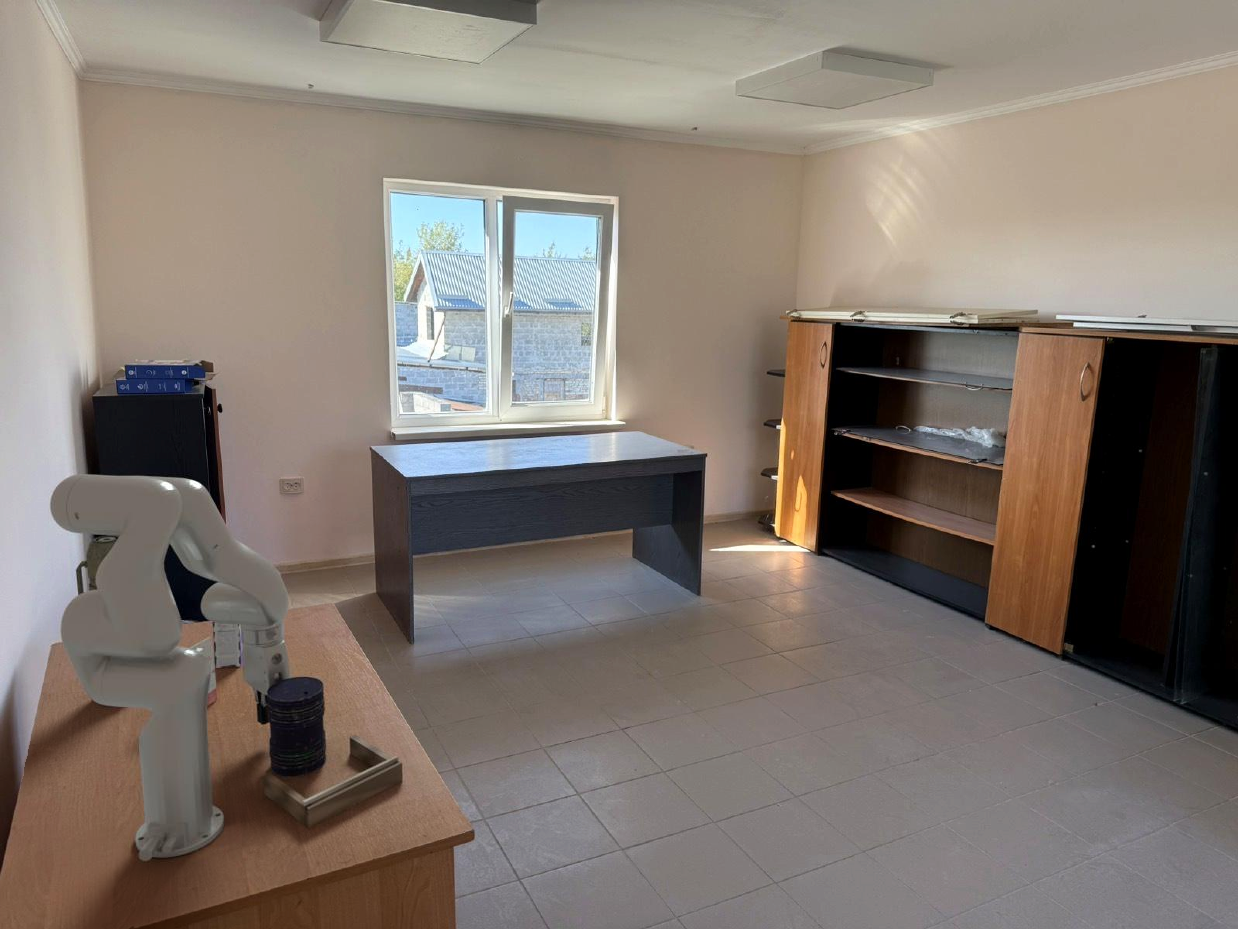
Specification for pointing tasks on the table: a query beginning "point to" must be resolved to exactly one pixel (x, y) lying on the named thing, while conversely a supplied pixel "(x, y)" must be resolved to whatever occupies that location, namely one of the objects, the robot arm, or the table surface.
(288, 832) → the table surface
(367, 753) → the dock
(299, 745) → the dark blue cylinder
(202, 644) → the ink cartridge box
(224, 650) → the candy box
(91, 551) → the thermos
